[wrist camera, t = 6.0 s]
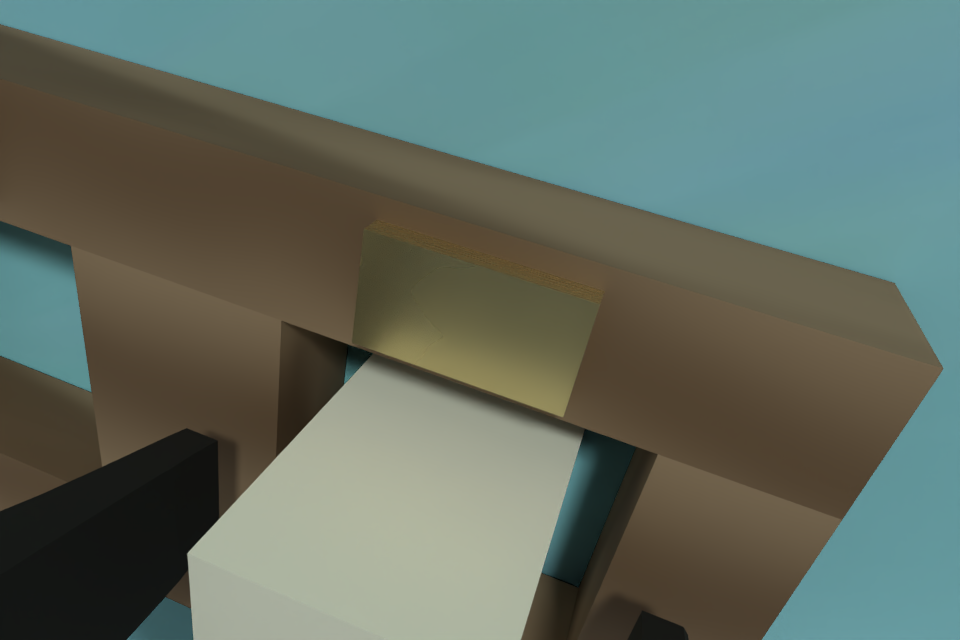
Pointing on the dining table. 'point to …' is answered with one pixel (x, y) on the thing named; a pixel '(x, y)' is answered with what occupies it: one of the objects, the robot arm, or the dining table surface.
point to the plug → (390, 519)
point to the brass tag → (472, 316)
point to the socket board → (322, 358)
